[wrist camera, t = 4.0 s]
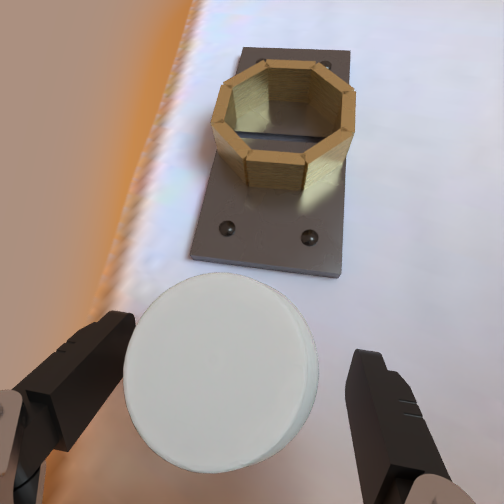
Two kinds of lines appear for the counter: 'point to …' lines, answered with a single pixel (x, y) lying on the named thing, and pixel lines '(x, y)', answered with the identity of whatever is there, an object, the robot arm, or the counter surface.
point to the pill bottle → (220, 373)
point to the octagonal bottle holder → (280, 163)
